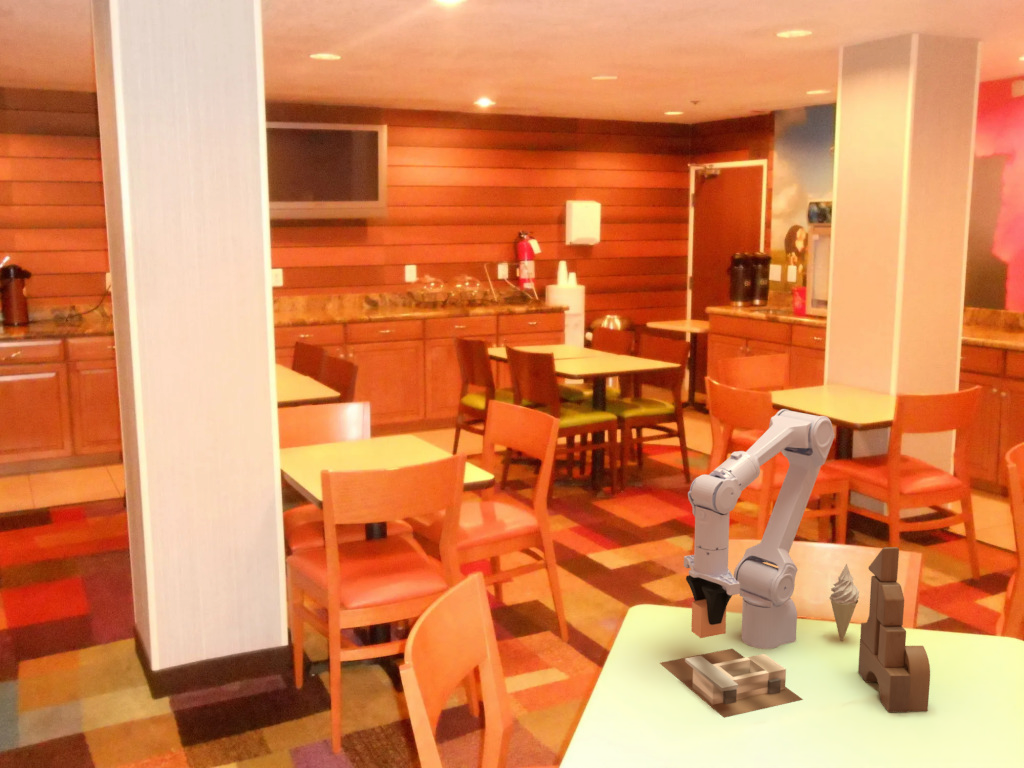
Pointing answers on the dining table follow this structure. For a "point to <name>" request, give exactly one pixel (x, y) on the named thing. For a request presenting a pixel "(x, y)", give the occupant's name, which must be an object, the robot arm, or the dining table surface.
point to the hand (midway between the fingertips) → (709, 619)
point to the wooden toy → (892, 642)
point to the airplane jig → (733, 681)
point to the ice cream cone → (844, 601)
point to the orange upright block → (705, 621)
